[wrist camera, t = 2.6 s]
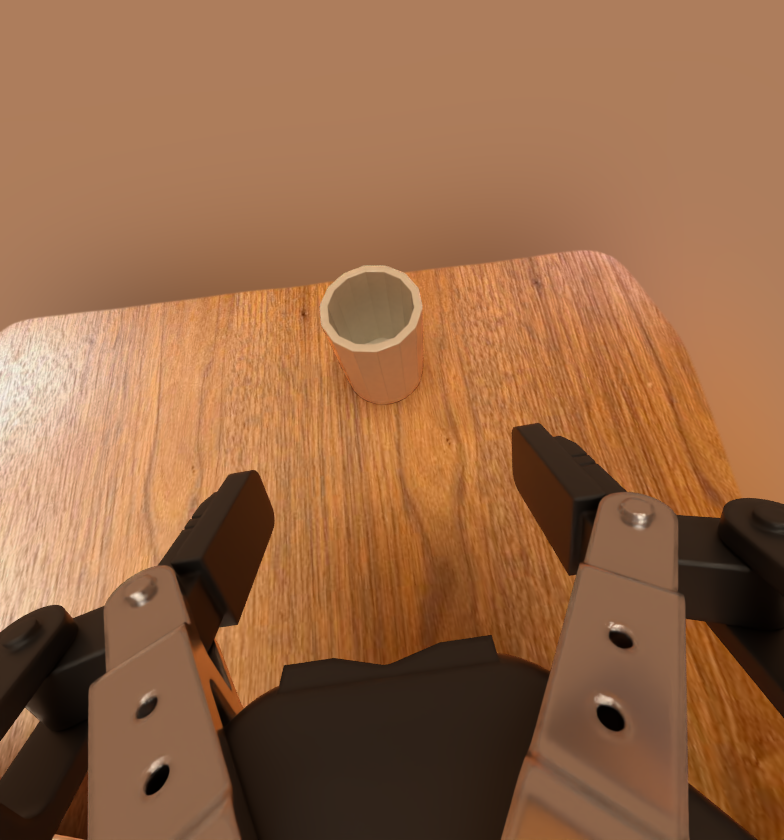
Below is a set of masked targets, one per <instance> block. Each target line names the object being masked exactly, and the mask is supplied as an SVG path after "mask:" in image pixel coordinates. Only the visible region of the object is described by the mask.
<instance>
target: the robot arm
mask: <svg viewBox="0 0 784 840" xmlns="http://www.w3.org/2000/svg"><path fill="white" fill-rule="evenodd" d="M512 467H513V477H514V481H515V484H516V487H517V489H518V491H519V493H520V494H521V496H522V498H523V499H524V501H525V503H526V504H527V506H528V508H529V509H530V511H531V513H532V514H533V516H534V518H535V519H536V521H537V523H538V524H539V526H540V528H541V530H542V531H543V533H544V535H545V536H546V538H547V540H548V541H549V543H550V545H551V546H552V548H553V550H554V551H555V553H556V555H557V556H558V558H559V560H560V561H561V563H562V565H563V566H564V568H565V570H566V571H567V573H568V575H569V576H570V575H576V578H575V582H574V586H573V590H572V593H571V597H570V601H569V604H568V608H567V612H566V616H565V619H564V623H563V627H562V630H561V634H560V638H559V642H558V645H557V649H556V653H555V656H554V660H553V664H552V668H551V671H548V670H546V669H544V668H542V667H540V666H538V665H536V664H534V663H532V662H529V661H527V660H524V659H522V658H518V657H515V656H511V655H507V654H501V653H497V652H496V649H495V645H494V642H493V639H492V635H488V636H481V637H474V638H468V639H461V640H454V641H447V642H440V643H438V644H435V645H433V646H431V647H428V648H426V649H424V650H422V651H419V652H417V653H415V654H412V655H410V656H408V657H405V658H403V659H401V660H399V661H396V662H394V663H391V664H388V665H379V664H372V663H365V662H358V661H351V660H344V659H337V658H332V659H325V660H318V661H311V662H305V663H298V664H291V665H284V667H283V672H282V676H281V681H280V685H279V686H278V687H275V688H273V689H272V690H270V691H268V692H266V693H265V694H263V695H261V696H260V697H258V698H257V699H256V700H254V701H253V702H251V703H250V704H249V705H248V706H246V707H245V708H244V709H243V707H242V704H241V702H240V700H239V697H238V695H237V692H236V689H235V687H234V684H233V681H232V679H231V676H230V673H229V671H228V668H227V665H226V663H225V660H224V657H223V655H222V652H221V649H220V647H219V644H218V643H217V641H216V639H215V636H216V633H217V631H218V629H219V627H226V626H232V625H238V623H239V620H240V617H241V615H242V612H243V609H244V607H245V604H246V601H247V598H248V596H249V593H250V590H251V588H252V585H253V582H254V580H255V577H256V574H257V572H258V569H259V566H260V563H261V561H262V558H263V555H264V553H265V550H266V547H267V545H268V542H269V539H270V537H271V534H272V531H273V528H274V521H275V520H274V511H273V508H272V505H271V503H270V500H269V498H268V495H267V493H266V490H265V488H264V485H263V483H262V480H261V478H260V475H259V474H258V472H257V471H255V470H251V471H245V472H239V473H233V474H230V475H228V476H227V478H226V479H225V481H224V482H223V484H222V485H221V487H220V488H219V490H218V491H217V492H215V493H213V494H212V495H211V496H210V497H209V498H207V499H206V500H205V501H204V502H203V503H202V504H200V506H199V507H198V509H197V510H196V512H195V513H194V514H193V516H192V519H190V520H189V522H188V523H187V525H186V526H185V527H184V528H185V530H182V532H181V533H180V535H179V536H178V537H177V539H176V540H175V542H174V543H173V545H172V546H171V547H170V549H169V550H168V552H167V553H166V555H165V556H164V558H163V559H162V560H161V562H160V563H159V565H158V566H154V567H151V568H148V569H145V570H143V571H141V572H139V573H137V574H135V575H134V576H132V577H130V578H129V579H127V580H126V581H125V582H124V583H122V584H121V585H120V586H119V587H118V588H117V589H116V590H115V591H114V592H113V593H112V594H111V596H110V597H109V598H108V600H107V602H106V604H105V606H103V607H100V608H98V609H95V610H93V611H90V612H88V613H85V614H83V615H80V616H78V617H75V618H72V617H71V616H70V615H69V614H68V612H67V611H66V610H65V609H64V608H63V607H62V606H59V605H50V606H46V607H43V608H40V609H37V610H35V611H33V612H31V613H29V614H27V615H25V616H23V617H21V618H20V619H18V620H16V621H15V622H13V623H12V624H11V625H9V626H8V627H6V628H5V629H4V630H3V631H1V632H0V741H1V740H2V738H3V737H4V735H5V734H6V733H7V731H8V730H9V729H10V727H11V726H12V724H13V723H14V722H15V720H16V719H17V718H18V716H19V715H20V713H21V712H22V711H23V709H24V708H26V709H27V710H28V711H29V712H31V713H32V714H33V715H34V716H35V717H36V718H37V719H38V720H40V722H39V723H38V725H37V726H36V728H35V729H34V731H33V732H32V734H31V735H30V737H29V738H28V740H27V741H26V743H25V744H24V746H23V747H22V749H21V750H20V752H19V753H18V755H17V756H16V758H15V759H14V760H13V762H12V763H11V765H10V766H9V768H8V769H7V771H6V772H5V774H4V775H3V777H2V778H1V780H0V840H52V839H53V837H54V835H55V833H56V831H57V829H58V827H59V825H60V823H61V821H62V819H63V817H64V815H65V813H66V811H67V809H68V808H69V806H70V804H71V802H72V800H73V798H74V796H75V794H76V792H77V790H78V788H79V786H80V784H81V782H82V780H83V778H84V776H85V775H86V773H87V771H88V840H757V839H756V838H755V837H754V836H753V835H751V834H750V833H749V832H748V831H746V830H745V829H744V828H743V827H742V826H740V825H739V824H738V823H737V822H735V821H734V820H733V819H732V818H731V817H729V816H728V815H727V814H726V813H725V812H723V811H722V810H721V809H720V808H718V807H717V806H716V805H715V804H714V803H712V802H711V801H710V800H709V799H707V798H706V797H705V796H704V795H703V794H701V793H700V792H699V791H698V790H696V789H695V788H694V787H693V786H692V785H690V784H689V783H688V747H687V685H686V624H685V619H692V620H699V621H705V622H706V623H707V625H708V626H709V627H710V628H711V630H712V631H713V632H714V633H715V634H716V636H717V637H718V638H719V639H720V641H721V642H722V643H723V644H724V645H725V647H726V648H727V649H728V650H729V652H730V653H731V654H732V655H733V656H734V658H735V659H736V660H737V661H738V663H739V664H740V665H741V666H742V668H743V669H744V670H745V671H746V672H747V674H748V675H749V676H750V677H751V679H752V680H753V681H754V682H755V683H756V685H757V686H758V687H759V688H760V690H761V691H762V692H763V693H764V694H765V696H766V697H767V698H768V699H769V701H770V702H771V703H772V704H773V705H774V707H775V708H776V709H777V710H778V712H779V713H780V714H781V715H782V716H783V718H784V504H781V503H778V502H774V501H769V500H763V499H756V498H741V499H735V500H732V501H730V502H728V503H727V504H726V505H725V506H724V509H723V512H722V515H721V518H712V517H697V516H683V515H676V514H675V513H674V511H673V510H672V509H671V508H670V507H669V506H667V505H666V504H664V503H663V502H661V501H659V500H657V499H655V498H653V497H650V496H647V495H643V494H639V493H633V492H627V491H626V490H625V489H624V488H623V487H621V486H620V485H619V484H618V483H617V482H616V481H615V480H614V479H613V478H612V477H611V476H610V475H609V474H608V473H607V472H606V471H605V470H604V469H603V468H602V467H601V466H599V465H598V464H596V463H595V461H594V460H593V459H592V458H591V457H590V456H589V455H587V453H586V452H585V451H584V450H583V449H582V448H581V447H580V446H579V445H577V444H576V443H575V442H572V441H570V440H568V439H566V438H564V437H562V436H556V437H552V435H551V434H550V433H549V432H548V431H547V430H546V429H545V428H544V427H543V426H542V425H541V424H540V423H535V424H529V425H523V426H517V427H513V429H512Z"/></svg>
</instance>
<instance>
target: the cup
mask: <svg viewBox="0 0 784 840" xmlns="http://www.w3.org/2000/svg"><path fill="white" fill-rule="evenodd" d="M320 318H321V326H322V328H323V330H324V332H325V334H326V336H327V339H328V341H329V343H330V345H331V347H332V349H333V351H334V353H335V355H336V357H337V359H338V361H339V364H340V366H341V368H342V370H343V372H344V374H345V376H346V378H347V380H348V382H349V383H350V385H351V387H352V388H353V390H354V391H355V392H356V393H357V394H358V395H359V396H360V397H361V398H363V399H365V400H367V401H369V402H372V403H377V404H390V403H394V402H397V401H400V400H402V399H404V398H406V397H407V396H408V395H410V394H411V393H412V392H413V391H414V390H415V389H416V387H417V386H418V384H419V382H420V380H421V377H422V370H423V306H422V301H421V296H420V291H419V289H418V287H417V286H416V285H415V284H414V283H413V281H412V280H411V279H410V278H409V277H408V276H407V275H406V274H405V273H403V272H400V271H398V270H396V269H393V268H391V267H388V266H362V267H359V268H357V269H354V270H351V271H349V272H346V273H344V274H342V275H341V276H340V277H339V278H338V279H337V280H336V281H334V282H333V283H332V284H331V285H330V286H329V287H328V288H327V290H326V293H325V295H324V297H323V299H322V302H321V304H320Z"/></svg>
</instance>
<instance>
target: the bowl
mask: <svg viewBox="0 0 784 840" xmlns="http://www.w3.org/2000/svg"><path fill="white" fill-rule="evenodd" d="M52 840H84V839H78V838H73V837H67V836H62V835H57V834H55V835H54V837H53V839H52Z"/></svg>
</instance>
